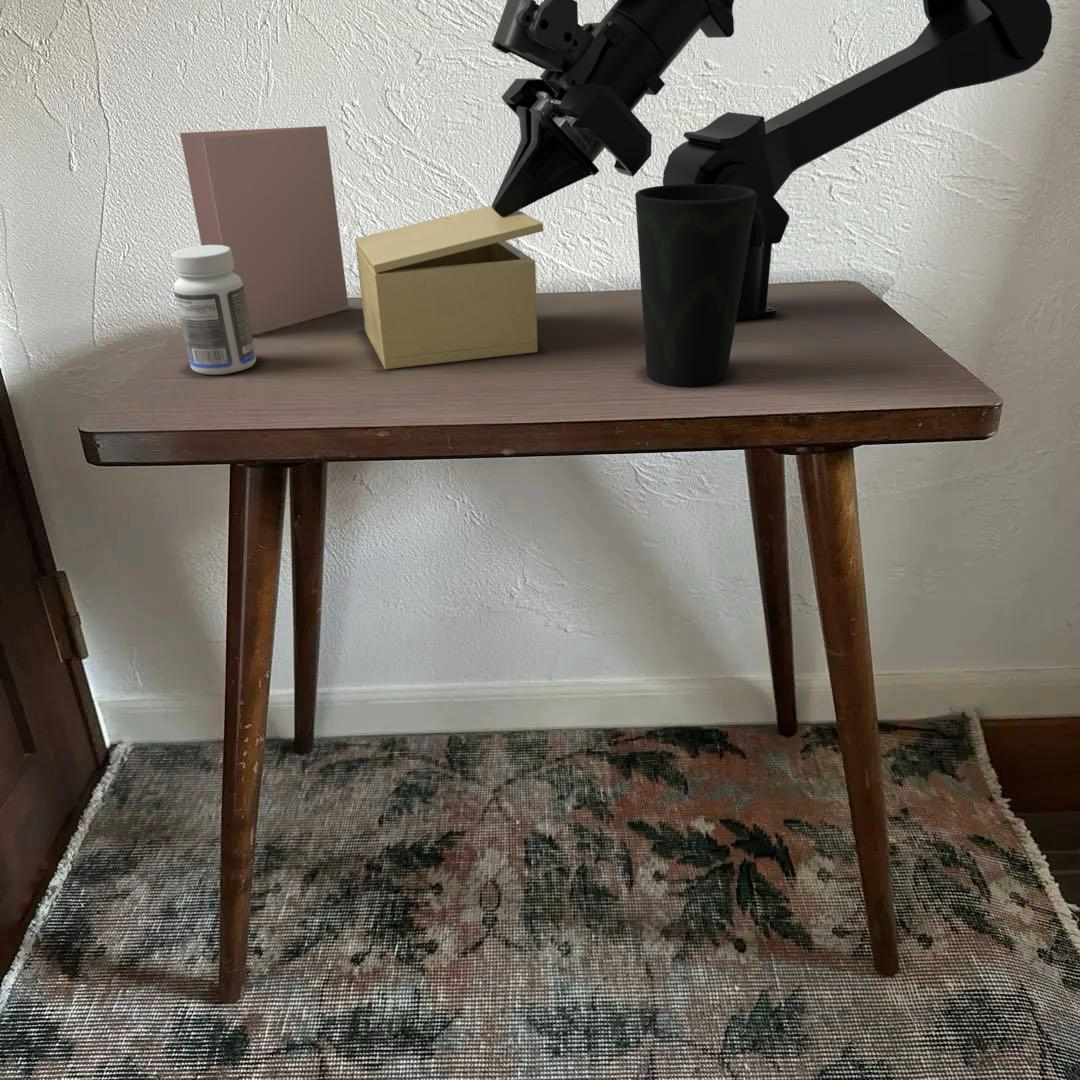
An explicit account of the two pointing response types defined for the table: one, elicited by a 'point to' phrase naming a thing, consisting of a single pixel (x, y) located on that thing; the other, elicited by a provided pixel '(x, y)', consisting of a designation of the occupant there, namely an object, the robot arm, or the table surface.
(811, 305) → the table surface
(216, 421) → the table surface
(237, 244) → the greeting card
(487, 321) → the pale yellow box
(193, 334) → the pill bottle
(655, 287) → the cup
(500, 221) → the lid
